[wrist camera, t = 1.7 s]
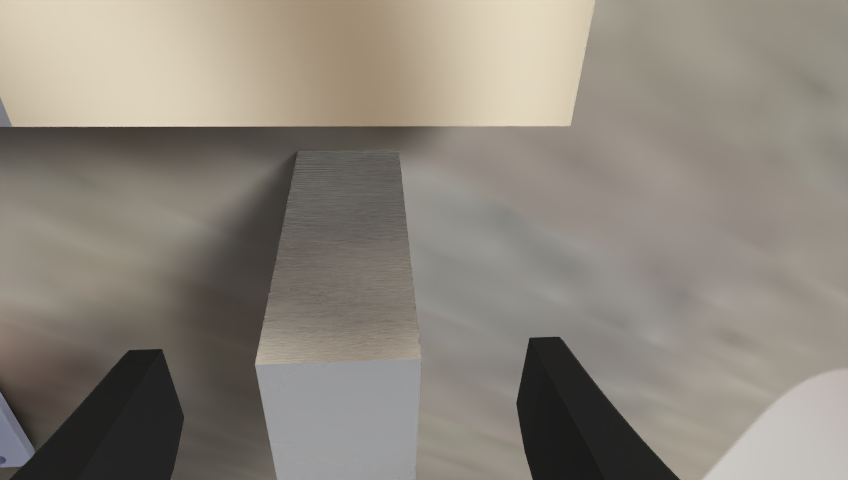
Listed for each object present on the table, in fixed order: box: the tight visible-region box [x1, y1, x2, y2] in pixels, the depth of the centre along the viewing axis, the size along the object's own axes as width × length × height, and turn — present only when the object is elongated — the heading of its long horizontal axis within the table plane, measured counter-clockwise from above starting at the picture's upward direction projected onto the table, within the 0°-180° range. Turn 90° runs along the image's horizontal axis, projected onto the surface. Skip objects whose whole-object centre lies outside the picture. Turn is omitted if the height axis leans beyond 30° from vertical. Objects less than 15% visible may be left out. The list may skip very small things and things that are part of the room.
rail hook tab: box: [255, 150, 421, 480], centre depth 13 cm, size 2×5×7 cm, turn 178°
